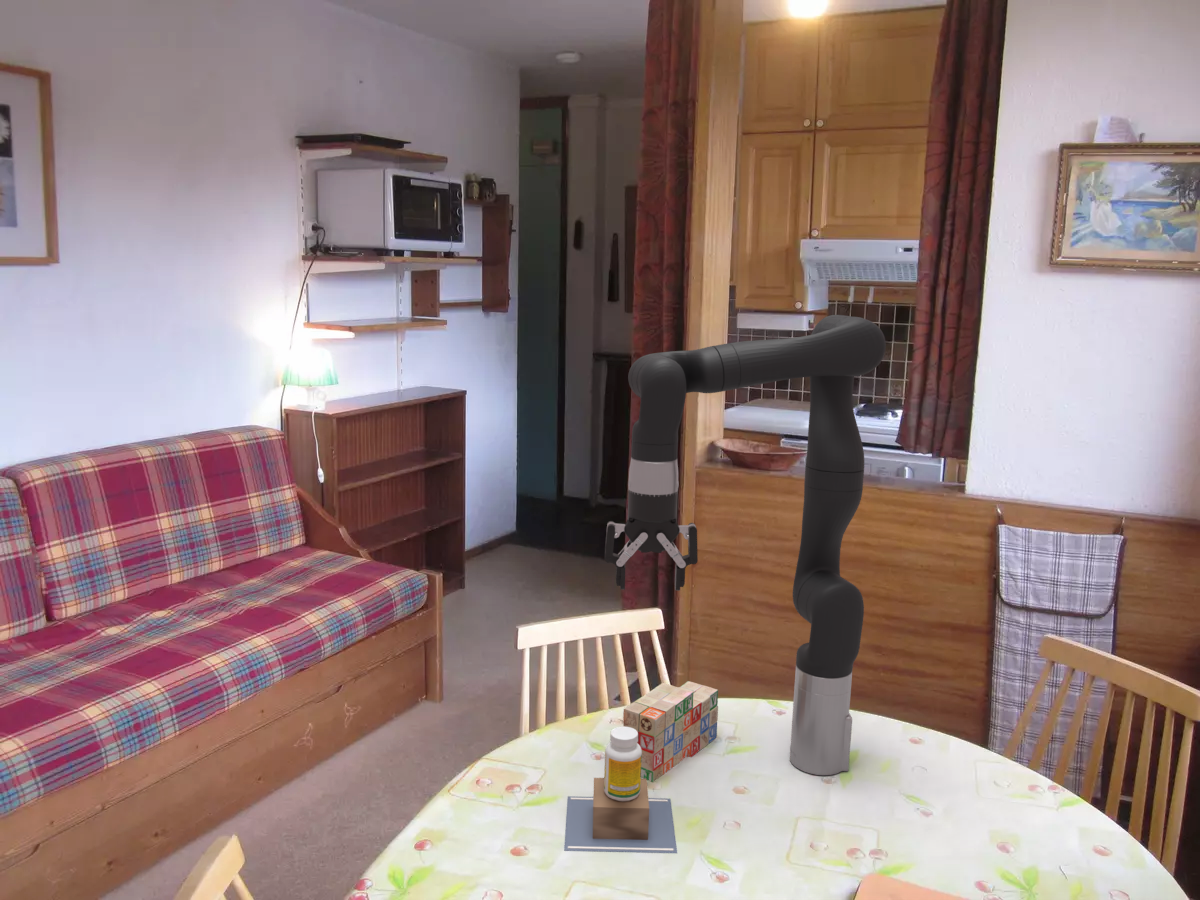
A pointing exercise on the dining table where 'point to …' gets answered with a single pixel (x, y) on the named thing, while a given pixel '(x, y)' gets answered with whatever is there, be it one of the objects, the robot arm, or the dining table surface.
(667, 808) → the blueprint board
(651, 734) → the stack of blocks
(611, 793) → the supplement bottle
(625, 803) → the walnut plinth
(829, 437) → the robot arm
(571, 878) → the dining table surface
